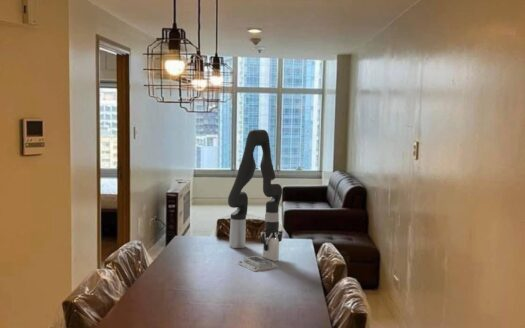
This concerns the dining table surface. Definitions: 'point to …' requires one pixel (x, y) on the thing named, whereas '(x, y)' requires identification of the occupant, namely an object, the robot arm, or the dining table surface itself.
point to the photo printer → (272, 250)
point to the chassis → (257, 263)
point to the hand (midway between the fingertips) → (270, 249)
